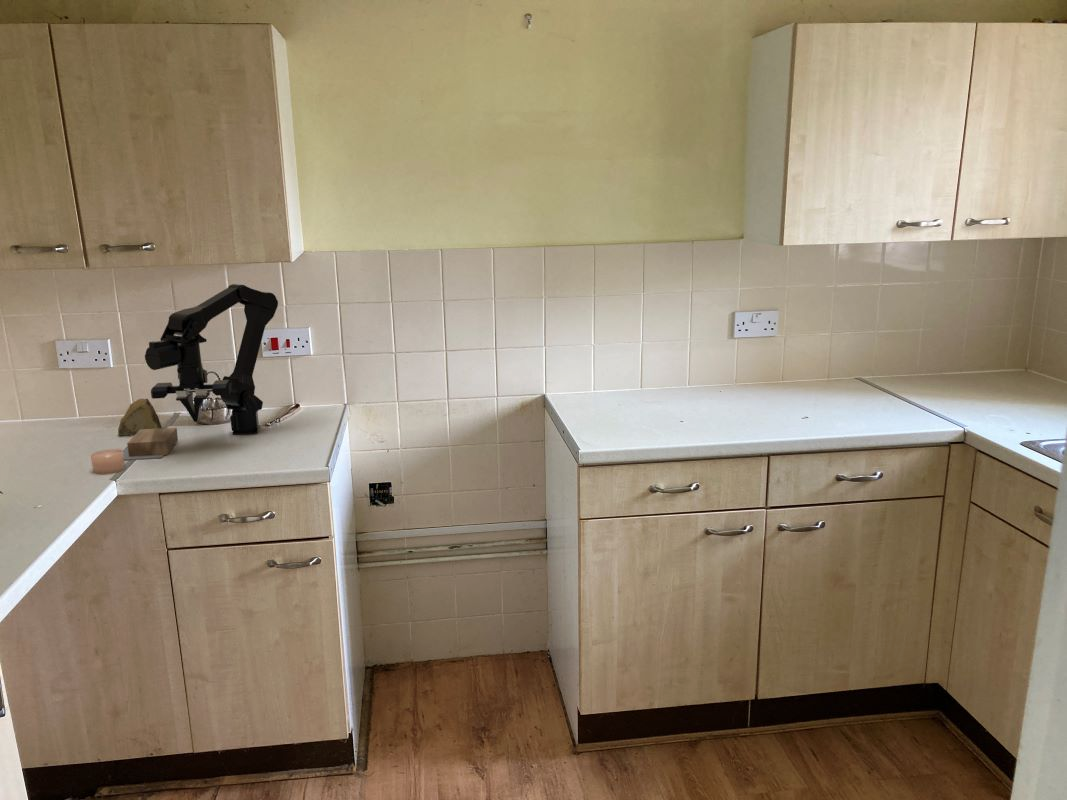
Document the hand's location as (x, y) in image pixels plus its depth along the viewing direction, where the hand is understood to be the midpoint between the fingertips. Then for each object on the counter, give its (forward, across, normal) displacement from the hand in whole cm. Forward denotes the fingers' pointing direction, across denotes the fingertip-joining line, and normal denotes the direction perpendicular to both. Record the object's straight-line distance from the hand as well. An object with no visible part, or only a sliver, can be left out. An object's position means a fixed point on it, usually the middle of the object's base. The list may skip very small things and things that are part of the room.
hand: (196, 421), depth 216 cm
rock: (+7, +19, -17) cm, 26 cm away
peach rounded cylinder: (+7, +18, +14) cm, 24 cm away
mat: (+7, +13, 0) cm, 14 cm away
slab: (+5, +6, 0) cm, 8 cm away
